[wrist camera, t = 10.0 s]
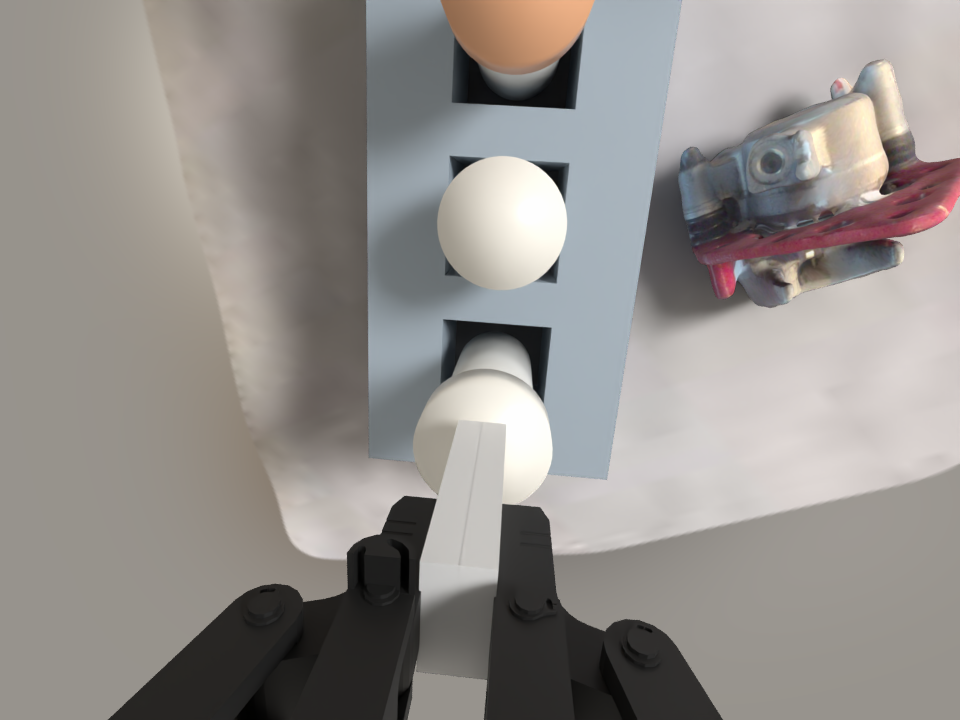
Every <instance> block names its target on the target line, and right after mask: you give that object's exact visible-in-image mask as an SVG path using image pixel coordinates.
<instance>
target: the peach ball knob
mask: <svg viewBox="0 0 960 720" xmlns="http://www.w3.org/2000/svg"><path fill="white" fill-rule="evenodd" d="M440 1H441V4H442V6H443V9H444V11H445V14H446V17H447V19H448V22H449V24H450V27H451V29H452V32H453V34H454V35H455V37H456V39H457V41H458V42H459V44H460V45H461V47H462V48H463V49H464V50H465V51H466V53H467V54H468V55H469V56H470V57H471V58H473V59H474V60H475V61H476V62H477V63H478V66H479V69H480V72H481V75H482V77H483V79H484V81H485V83H486V84H487V86H488V87H489V88H490V89H491V90H492V91H493V92H494V93H496V94H497V95H499V96H500V97H503V98H505V99H509V100H515V101H516V100H526V99H529V98H532V97H534V96H536V95H537V94H539V93H540V92H541V91H543V90H544V89H545V88H546V87H547V86H548V84H549V83H550V82H551V80H552V79H553V77H554V75H555V72H556V70H557V67H558V63H559V60H560V58H561V57H562V56H563V55H564V54H565V53H566V52H567V51H568V50H569V49H570V48H571V47H572V46H573V44H574V43H575V42H576V40H577V39H578V37H579V36H580V34H581V32H582V30H583V28H584V27H585V24H586V22H587V19H588V17H589V14H590V11H591V9H592V6H593V4H594V1H595V0H440Z"/></svg>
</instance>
